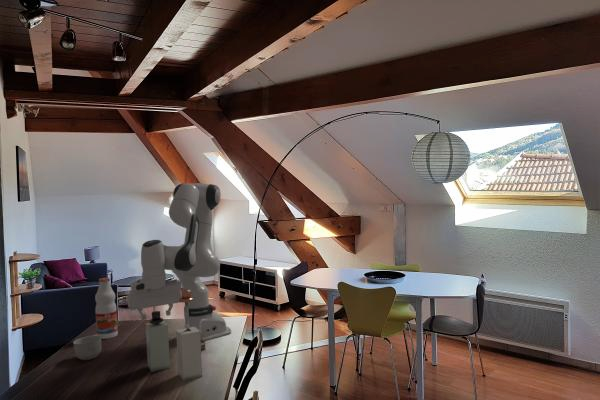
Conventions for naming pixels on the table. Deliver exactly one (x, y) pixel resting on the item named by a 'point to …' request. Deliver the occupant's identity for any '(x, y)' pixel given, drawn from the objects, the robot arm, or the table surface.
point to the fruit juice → (106, 310)
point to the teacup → (87, 347)
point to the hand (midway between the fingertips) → (156, 317)
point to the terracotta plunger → (186, 305)
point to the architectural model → (202, 341)
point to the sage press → (157, 346)
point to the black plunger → (156, 318)
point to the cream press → (189, 353)
